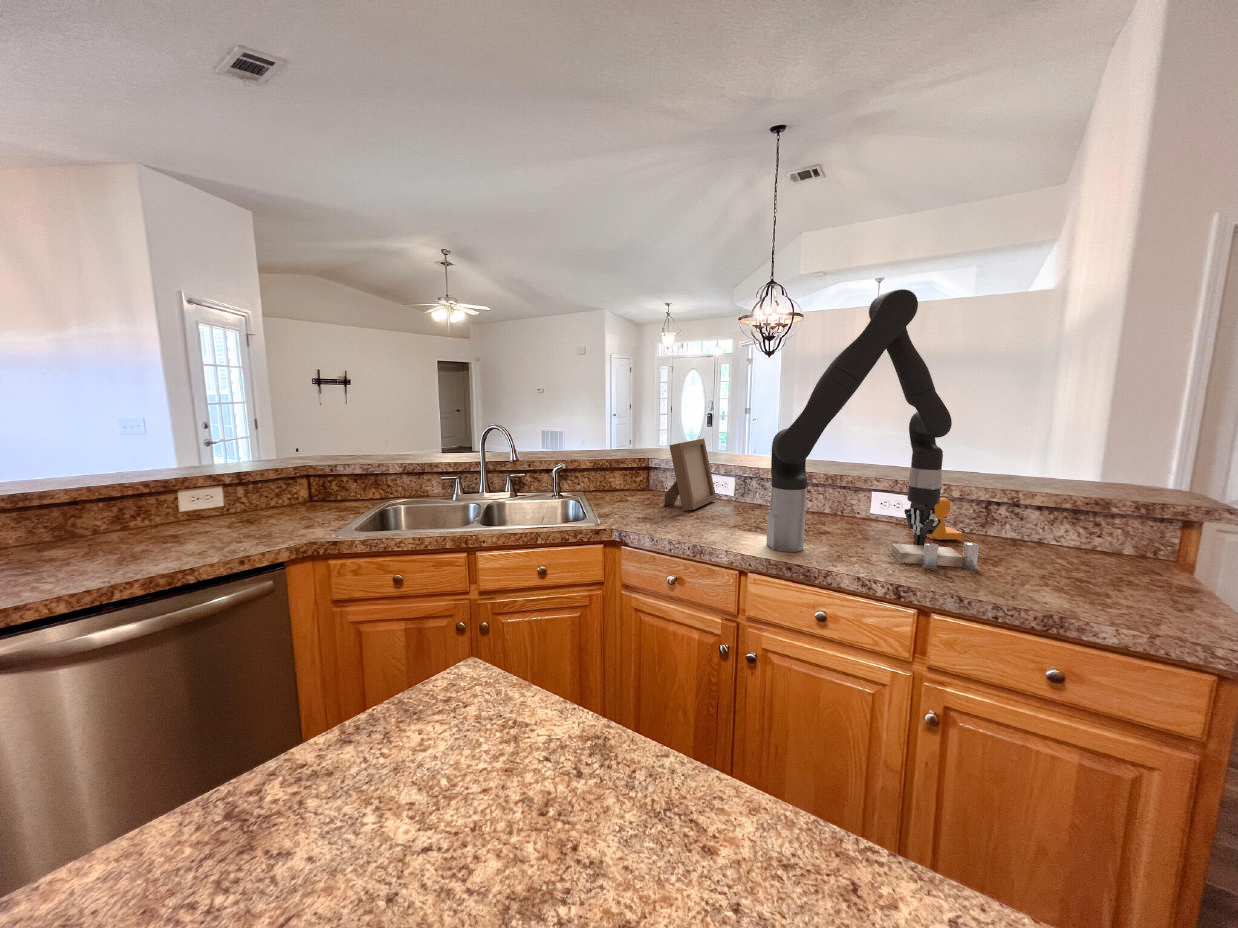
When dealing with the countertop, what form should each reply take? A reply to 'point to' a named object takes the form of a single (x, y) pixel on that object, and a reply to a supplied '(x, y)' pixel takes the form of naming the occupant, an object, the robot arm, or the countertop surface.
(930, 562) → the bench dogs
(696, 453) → the photo frame
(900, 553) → the cream curved panel
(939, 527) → the bracket
